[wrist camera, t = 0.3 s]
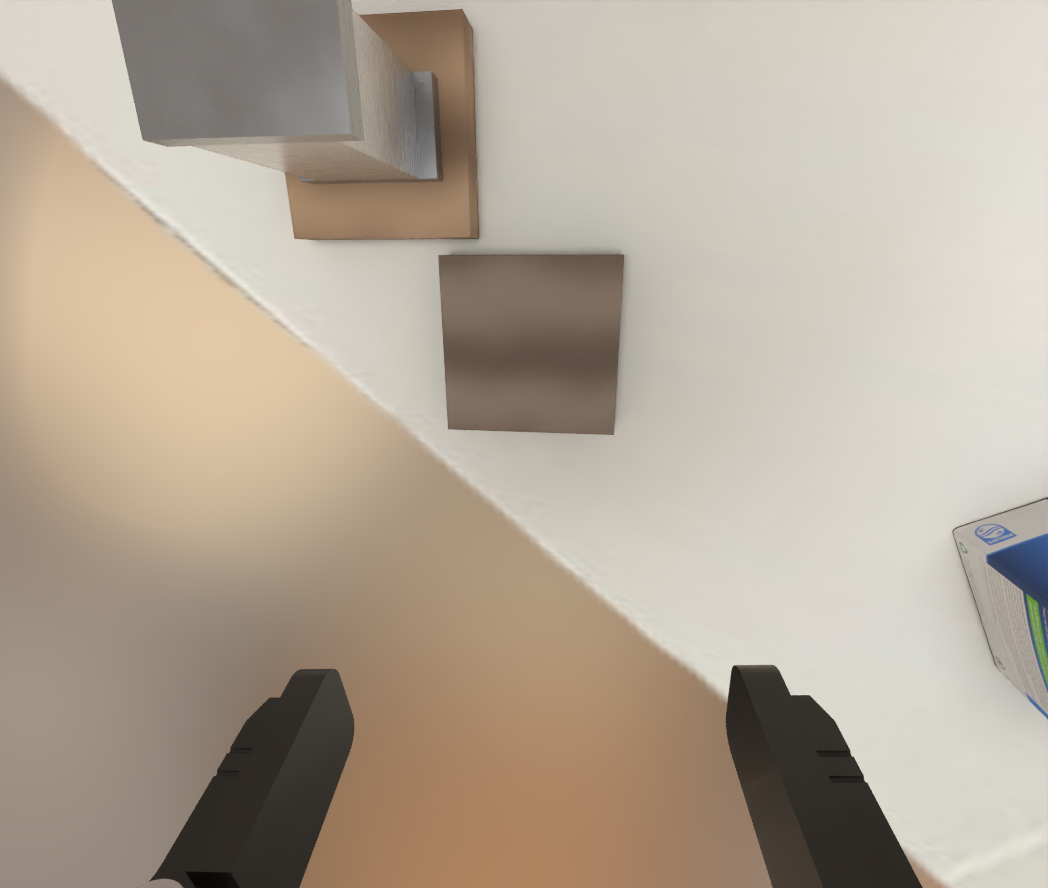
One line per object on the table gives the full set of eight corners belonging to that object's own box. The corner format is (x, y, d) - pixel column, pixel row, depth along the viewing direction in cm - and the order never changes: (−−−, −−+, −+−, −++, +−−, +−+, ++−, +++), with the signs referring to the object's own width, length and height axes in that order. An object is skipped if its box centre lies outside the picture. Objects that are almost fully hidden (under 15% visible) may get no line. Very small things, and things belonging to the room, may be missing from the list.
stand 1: (288, 38, 31) (263, 20, 28) (472, 28, 29) (462, 9, 27) (314, 239, 34) (294, 238, 32) (478, 238, 33) (470, 237, 31)
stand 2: (448, 255, 34) (438, 255, 31) (621, 254, 32) (624, 254, 30) (456, 418, 37) (448, 429, 35) (612, 423, 36) (613, 434, 34)
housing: (297, 84, 29) (105, -30, 17) (437, 78, 28) (332, -46, 17) (310, 183, 31) (142, 140, 19) (442, 181, 30) (350, 133, 18)
